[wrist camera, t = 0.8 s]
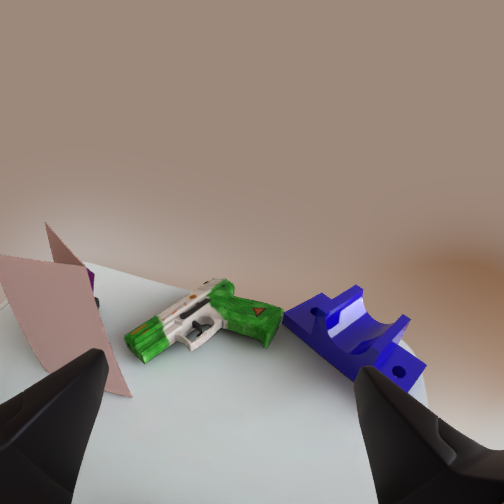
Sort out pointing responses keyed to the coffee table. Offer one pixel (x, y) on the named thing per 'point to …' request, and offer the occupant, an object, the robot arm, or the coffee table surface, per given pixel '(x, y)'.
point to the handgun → (204, 320)
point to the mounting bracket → (354, 337)
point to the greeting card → (58, 309)
